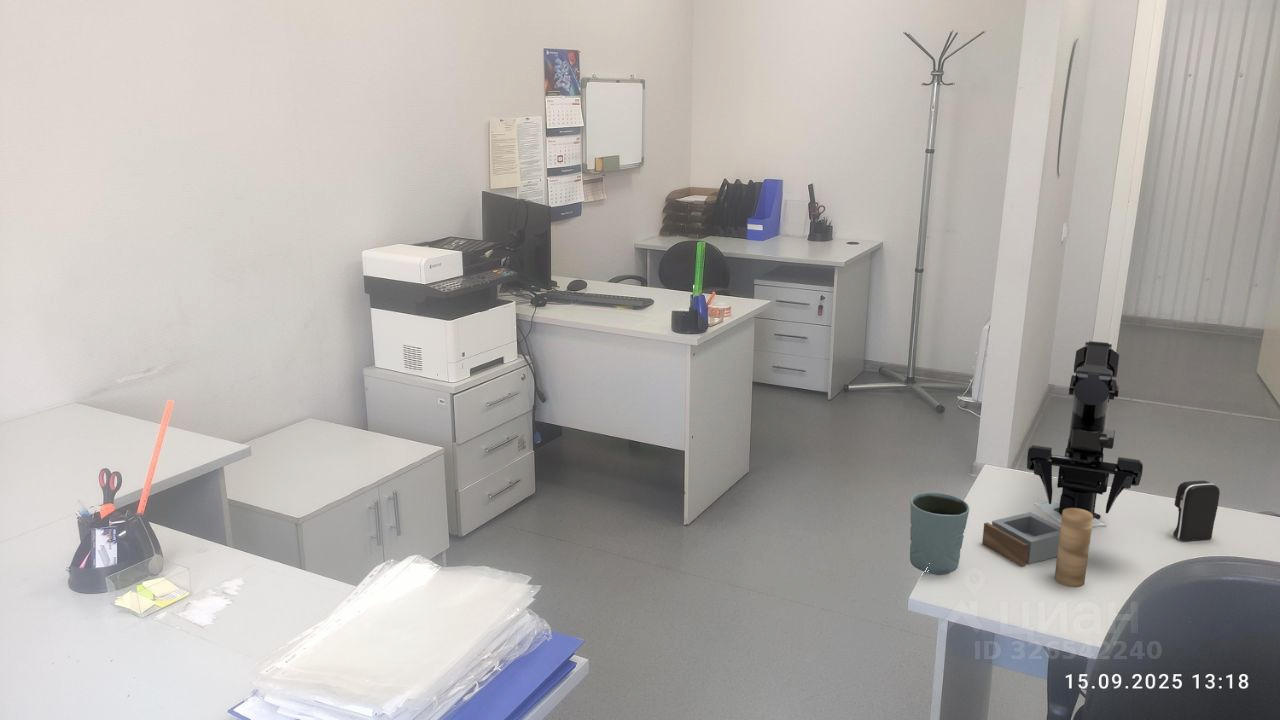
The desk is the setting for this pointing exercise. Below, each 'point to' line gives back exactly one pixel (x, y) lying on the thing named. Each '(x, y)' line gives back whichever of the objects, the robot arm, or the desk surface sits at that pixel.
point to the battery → (1196, 510)
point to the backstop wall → (1005, 544)
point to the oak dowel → (1073, 547)
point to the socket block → (1032, 535)
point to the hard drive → (1057, 516)
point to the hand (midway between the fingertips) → (1078, 507)
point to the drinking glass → (937, 531)
